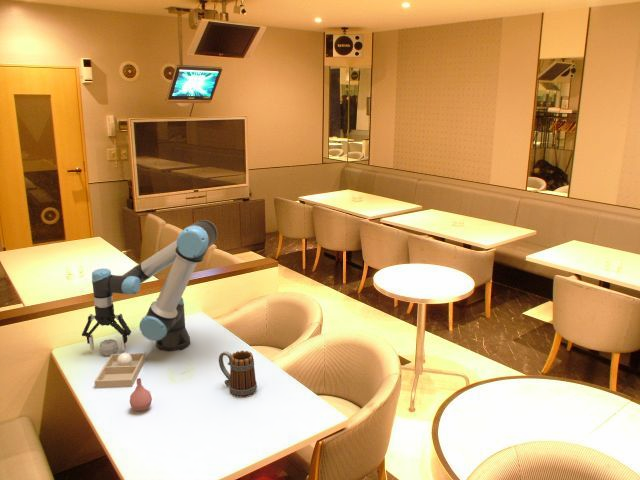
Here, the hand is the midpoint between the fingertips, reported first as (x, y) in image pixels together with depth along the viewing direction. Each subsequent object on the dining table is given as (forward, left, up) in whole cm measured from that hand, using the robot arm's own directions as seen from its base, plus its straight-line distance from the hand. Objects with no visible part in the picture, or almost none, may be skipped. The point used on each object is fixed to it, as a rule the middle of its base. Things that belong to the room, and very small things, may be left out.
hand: (108, 349), depth 239 cm
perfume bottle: (-24, +44, -3) cm, 50 cm away
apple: (0, 0, -3) cm, 3 cm away
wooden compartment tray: (-10, +18, -2) cm, 21 cm away
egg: (-10, +13, -2) cm, 17 cm away
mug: (-58, +33, -3) cm, 67 cm away
